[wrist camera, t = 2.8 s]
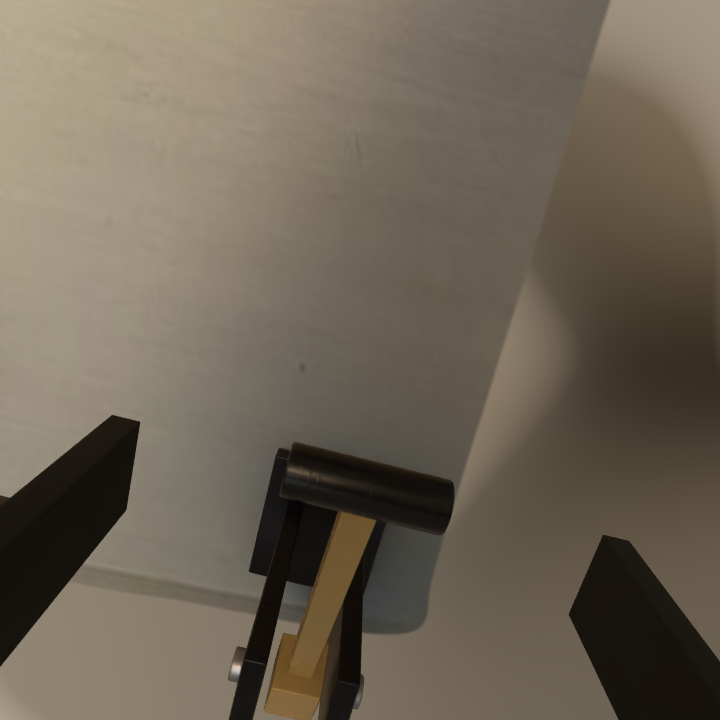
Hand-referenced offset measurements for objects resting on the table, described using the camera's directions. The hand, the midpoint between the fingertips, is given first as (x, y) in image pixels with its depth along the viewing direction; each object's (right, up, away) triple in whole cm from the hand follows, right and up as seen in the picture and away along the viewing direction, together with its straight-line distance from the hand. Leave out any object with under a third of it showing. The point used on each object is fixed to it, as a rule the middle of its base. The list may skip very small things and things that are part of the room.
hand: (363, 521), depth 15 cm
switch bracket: (-3, -6, +23) cm, 24 cm away
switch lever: (-1, -4, +7) cm, 8 cm away
